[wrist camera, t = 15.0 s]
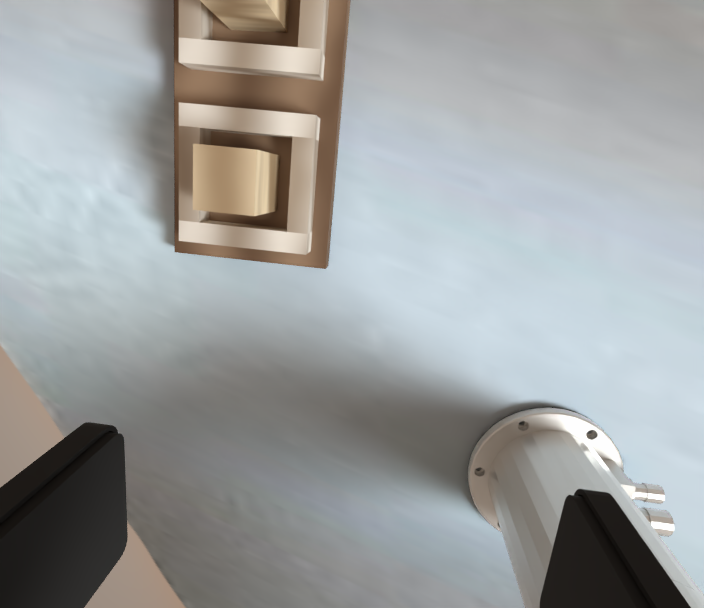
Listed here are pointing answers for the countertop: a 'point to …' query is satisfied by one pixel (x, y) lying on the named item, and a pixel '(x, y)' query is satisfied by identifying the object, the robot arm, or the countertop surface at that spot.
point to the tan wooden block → (251, 14)
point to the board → (258, 133)
